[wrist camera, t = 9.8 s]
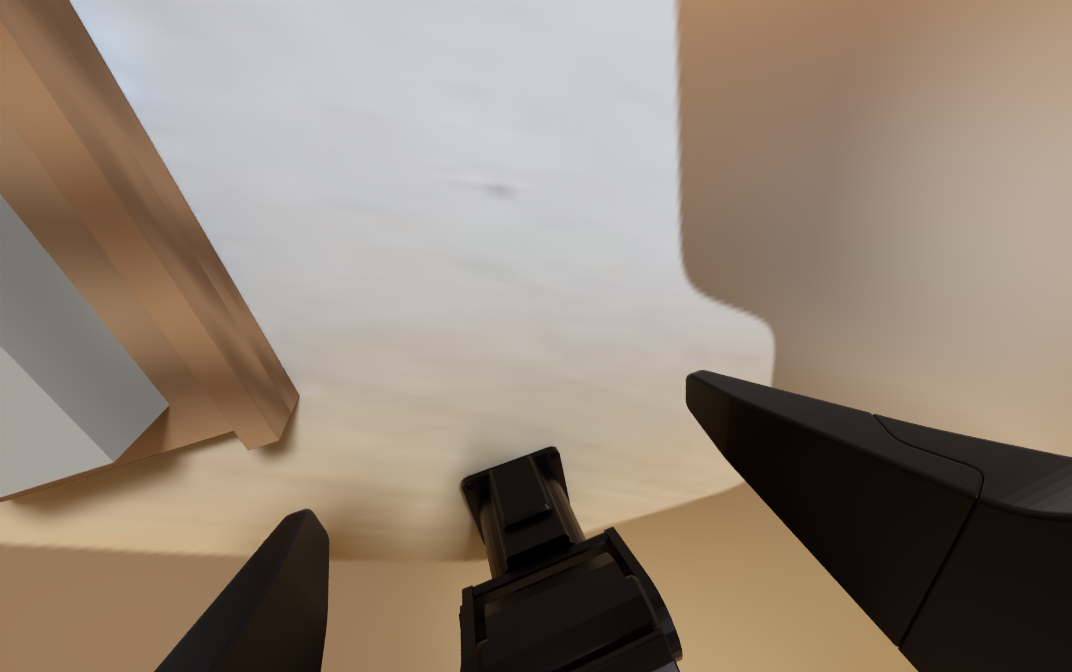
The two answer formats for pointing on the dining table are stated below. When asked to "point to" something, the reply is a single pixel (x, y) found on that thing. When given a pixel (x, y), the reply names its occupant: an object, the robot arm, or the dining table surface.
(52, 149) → the board
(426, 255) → the dining table surface
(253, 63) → the dining table surface
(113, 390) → the grey notched panel
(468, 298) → the dining table surface
